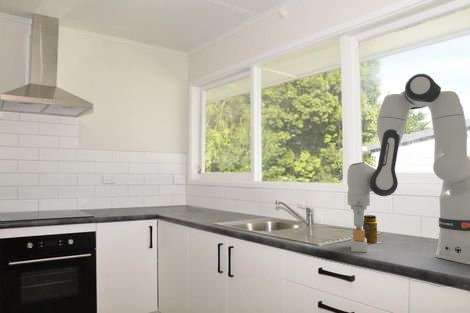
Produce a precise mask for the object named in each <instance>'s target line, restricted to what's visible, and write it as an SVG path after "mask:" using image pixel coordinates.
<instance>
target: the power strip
mask: <svg viewBox="0 0 470 313" xmlns="http://www.w3.org/2000/svg"><path fill="white" fill-rule="evenodd" d="M350 239H351V240H350V243H351V244H350V246H351V247H350V250H351V252H357V253H359V252H360V253H368V244H367V239H366V238H365V241H355V240H353V236H351V238H350Z"/></svg>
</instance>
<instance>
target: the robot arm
mask: <svg viewBox="0 0 470 313" xmlns="http://www.w3.org/2000/svg"><path fill="white" fill-rule="evenodd" d="M426 107H427V108H429V110H430V114H431V123H432V130H433V137H434V154H433V156H434V159H433V160H434V161H433V167H432V168H433V172H434V174H435V176H436V177H438V179H440V180H442V185H441V191H440V194H439V217H438V227H439V234H438V239H437V240H438V241H437V247H436V248H437V249H436V253H435V257H436V258H439V259H443V260H447V261H451V262H456V263H461V264H465V265H470V156H469V155H468V146H467V145H468V130H467V124H466V116H465V112H464V108H463V103H462V101H461V98H460V96H459V93H458V92H457V91H455V90H454V89H453V90H451V89H443V90H442V87H441V86H440V85H439V84H438V83H437V82H436V80H435V79H434V78H433V77H432V76H430V75H428V74H426V73H417V74H414V75H412V76H411V77H409V79H408V80H407V81H406V83H405V86H404V90H402V92H391V93H389V94H387V95H385V97H384V99H383V101H382V103H381V106H380V109H379V114H378V118H377V125H376V126H377V127H376V134H377V137H378V139H379V141H380V151H379V157H378V162H377V167H376V166H375V167H374V166H372V165H370V164H369V163H368V162H365V161H361V162H356V163H352V164H350V165H349V166H348V168H347V173H346V174H347V175H346V177H347V178H346V179H347V180H346V182H347V195H346V196H347V206H350V209H351V210H352V211H353V212H352V213H353V225H354V227H356V228H355V229H363V225H364V216H365V210H366V211H367V209H368V208H367V207H369V206H370V205H371V201H370V200H371V199H370V196H371V195H370V194H371V192H373V193H374V194H375V195H377V196H379V197H388V196H391V195H393V194H395V191H396V190H397V189H398V185H399V184H398V178H397V174H396V164H397V158H398V152H399V147H400V143H401V141H402V138H403V136H404V134H405V131H406V127H407V123H408V117H409V113H410V111H411V110H417V109H418V110H419V109H423V108H426Z"/></svg>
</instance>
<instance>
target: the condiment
mask: <svg viewBox="0 0 470 313" xmlns="http://www.w3.org/2000/svg"><path fill="white" fill-rule="evenodd" d="M362 229H364V230H365V238H366V239H367V245H368V244H380V243H382V242H381V241H378V222H377V216H376V215H372V214H370V215H369V214H364V225H363V226H362Z"/></svg>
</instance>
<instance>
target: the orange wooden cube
mask: <svg viewBox="0 0 470 313" xmlns="http://www.w3.org/2000/svg"><path fill="white" fill-rule="evenodd" d="M352 234H353V235H352V237H353V240H355V241H365V230H364V229H363V228H361V229H356V228H353V229H352Z"/></svg>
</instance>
